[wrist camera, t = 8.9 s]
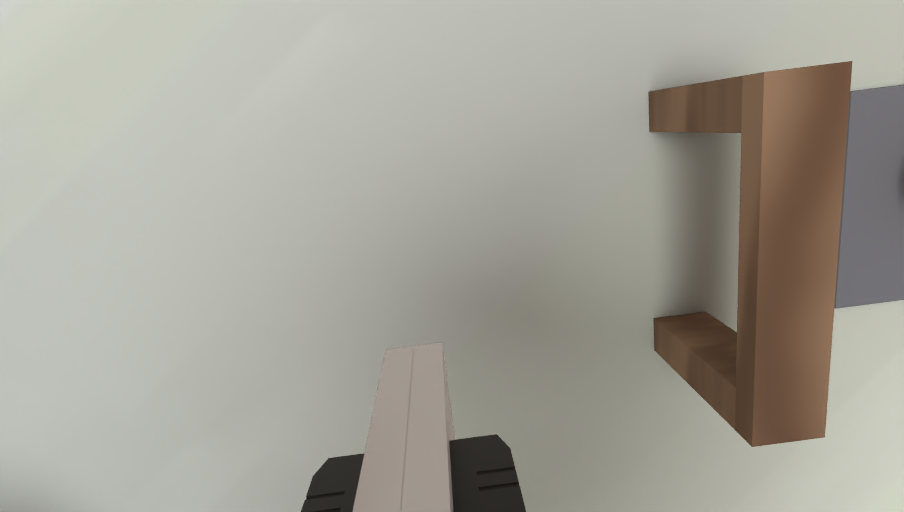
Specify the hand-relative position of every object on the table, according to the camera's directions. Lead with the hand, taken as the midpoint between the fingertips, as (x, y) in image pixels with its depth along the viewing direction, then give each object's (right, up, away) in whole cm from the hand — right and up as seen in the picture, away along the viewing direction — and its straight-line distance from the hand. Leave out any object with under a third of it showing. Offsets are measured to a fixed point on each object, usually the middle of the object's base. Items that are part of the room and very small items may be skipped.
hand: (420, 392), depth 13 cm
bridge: (+13, +5, +14) cm, 20 cm away
